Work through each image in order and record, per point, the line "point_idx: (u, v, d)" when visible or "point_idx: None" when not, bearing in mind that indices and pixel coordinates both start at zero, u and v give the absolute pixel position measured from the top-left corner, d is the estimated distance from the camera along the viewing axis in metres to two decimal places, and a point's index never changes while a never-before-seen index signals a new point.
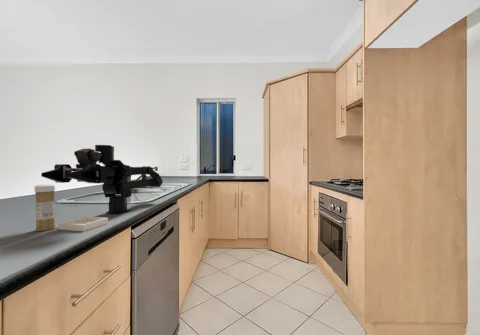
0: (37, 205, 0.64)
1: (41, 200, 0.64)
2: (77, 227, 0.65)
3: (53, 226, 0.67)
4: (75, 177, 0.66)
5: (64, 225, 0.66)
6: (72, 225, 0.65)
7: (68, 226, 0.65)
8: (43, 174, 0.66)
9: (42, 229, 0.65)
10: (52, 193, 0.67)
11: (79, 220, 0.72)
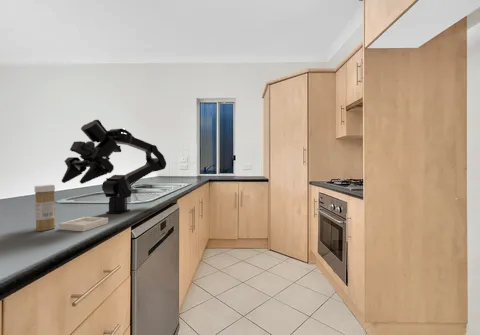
0: (37, 205, 0.64)
1: (41, 200, 0.64)
2: (77, 227, 0.65)
3: (53, 226, 0.67)
4: (88, 179, 0.73)
5: (64, 225, 0.66)
6: (72, 225, 0.65)
7: (68, 226, 0.65)
8: (63, 181, 0.75)
9: (42, 229, 0.65)
10: (52, 193, 0.67)
11: (79, 220, 0.72)
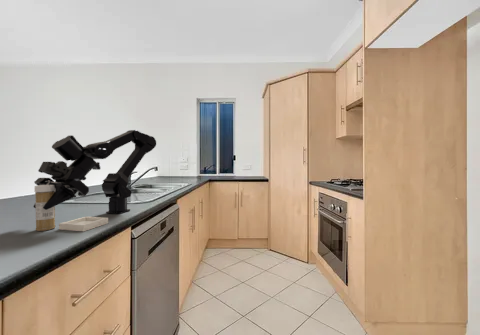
0: (37, 205, 0.64)
1: (41, 200, 0.64)
2: (77, 227, 0.65)
3: (53, 226, 0.67)
4: (54, 204, 0.66)
5: (64, 225, 0.66)
6: (72, 225, 0.65)
7: (68, 226, 0.65)
8: None
9: (42, 229, 0.65)
10: (52, 193, 0.67)
11: (79, 220, 0.72)
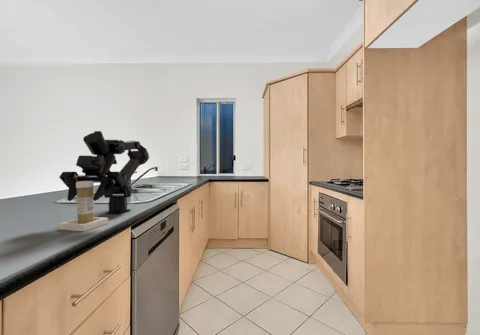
0: (82, 200, 0.68)
1: (86, 195, 0.68)
2: (77, 227, 0.65)
3: None
4: (100, 196, 0.70)
5: (64, 225, 0.66)
6: (72, 225, 0.65)
7: (68, 226, 0.65)
8: (70, 199, 0.68)
9: (87, 222, 0.68)
10: (92, 188, 0.71)
11: None
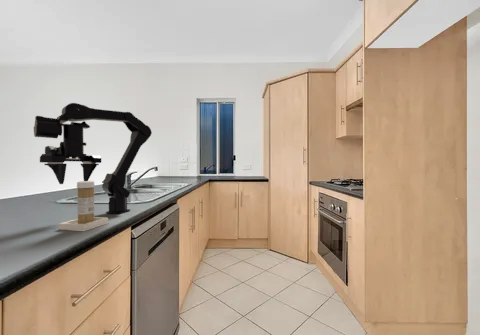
0: (82, 200, 0.68)
1: (87, 196, 0.68)
2: (77, 227, 0.65)
3: None
4: (60, 178, 0.73)
5: (64, 225, 0.66)
6: (72, 225, 0.65)
7: (68, 226, 0.65)
8: None
9: None
10: (93, 189, 0.71)
11: None
